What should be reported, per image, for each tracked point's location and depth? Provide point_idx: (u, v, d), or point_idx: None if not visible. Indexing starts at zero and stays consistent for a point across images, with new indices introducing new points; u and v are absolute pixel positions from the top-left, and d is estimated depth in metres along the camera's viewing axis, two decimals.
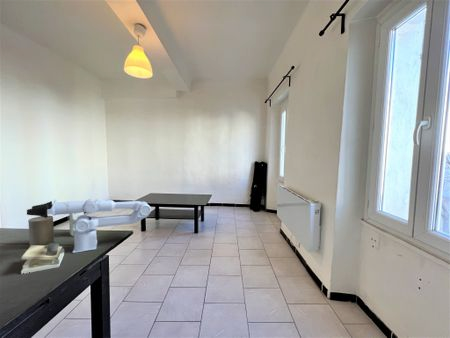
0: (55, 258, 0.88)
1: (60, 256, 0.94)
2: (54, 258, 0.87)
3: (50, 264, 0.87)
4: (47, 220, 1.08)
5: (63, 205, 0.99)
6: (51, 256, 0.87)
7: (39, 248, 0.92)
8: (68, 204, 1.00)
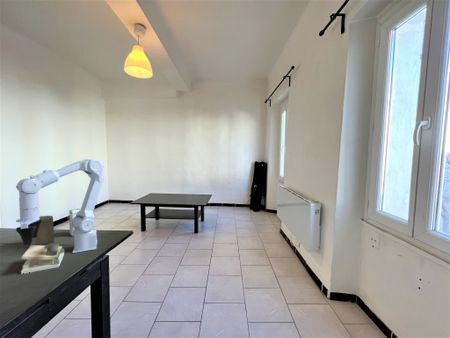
0: (55, 258, 0.88)
1: (60, 256, 0.94)
2: (54, 258, 0.87)
3: (50, 264, 0.87)
4: (47, 220, 1.08)
5: (22, 213, 0.85)
6: (51, 256, 0.87)
7: (39, 248, 0.92)
8: (24, 208, 0.85)
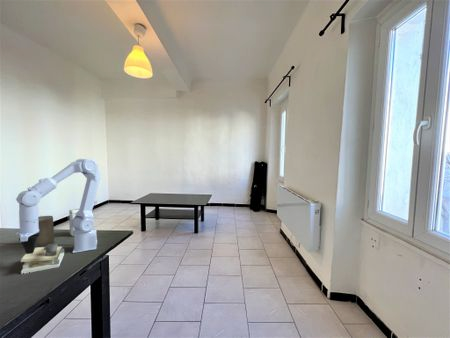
0: (55, 258, 0.88)
1: (60, 256, 0.94)
2: (54, 258, 0.87)
3: (50, 264, 0.87)
4: (47, 220, 1.08)
5: (22, 225, 0.85)
6: (50, 257, 0.87)
7: (39, 250, 0.92)
8: (24, 220, 0.85)
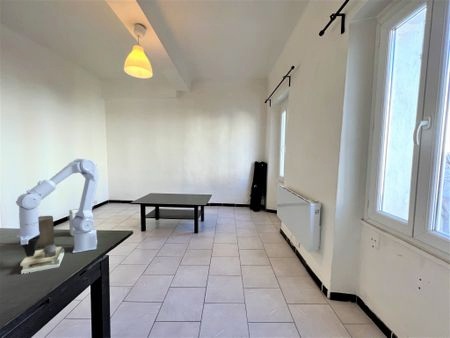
0: (55, 258, 0.87)
1: (60, 256, 0.94)
2: (54, 258, 0.87)
3: (50, 264, 0.87)
4: (47, 220, 1.08)
5: (22, 228, 0.85)
6: (50, 258, 0.87)
7: (38, 252, 0.92)
8: (24, 223, 0.85)
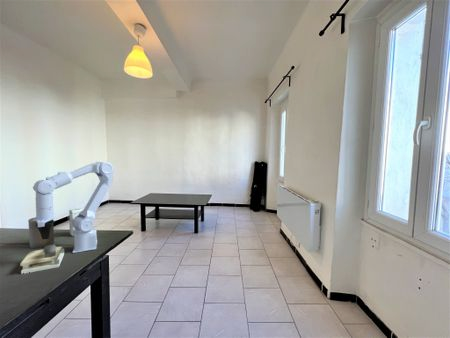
0: (55, 258, 0.87)
1: (60, 256, 0.94)
2: (54, 258, 0.87)
3: (50, 264, 0.87)
4: None
5: (38, 212, 0.90)
6: (50, 258, 0.87)
7: (38, 252, 0.92)
8: (40, 208, 0.90)
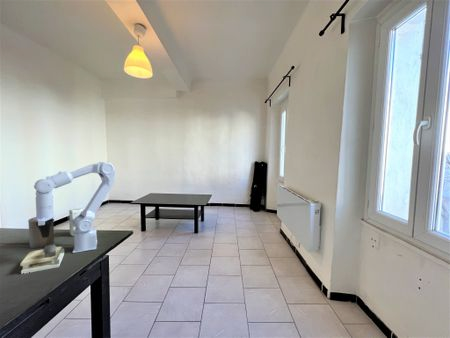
0: (55, 258, 0.87)
1: (60, 256, 0.94)
2: (54, 258, 0.87)
3: (50, 264, 0.87)
4: None
5: (38, 211, 0.91)
6: (50, 258, 0.87)
7: (38, 252, 0.92)
8: (39, 206, 0.91)
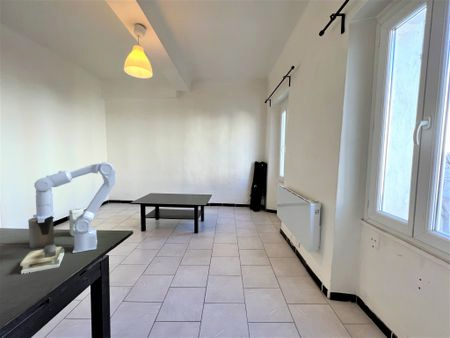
0: (55, 258, 0.87)
1: (60, 256, 0.94)
2: (54, 258, 0.87)
3: (50, 264, 0.87)
4: None
5: (38, 208, 0.94)
6: (50, 258, 0.87)
7: (38, 252, 0.92)
8: (38, 204, 0.94)
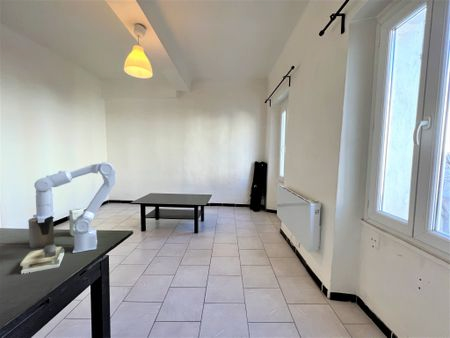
0: (55, 258, 0.87)
1: (60, 256, 0.94)
2: (54, 258, 0.87)
3: (50, 264, 0.87)
4: None
5: (38, 208, 0.94)
6: (50, 258, 0.87)
7: (38, 252, 0.92)
8: (38, 204, 0.94)
